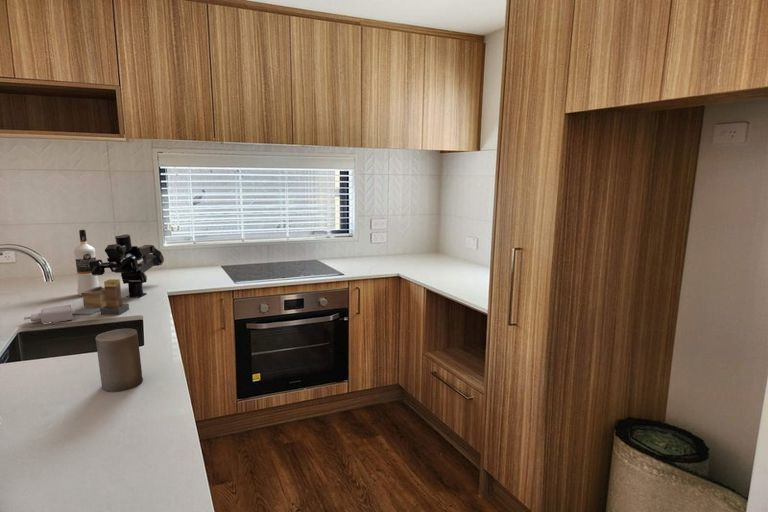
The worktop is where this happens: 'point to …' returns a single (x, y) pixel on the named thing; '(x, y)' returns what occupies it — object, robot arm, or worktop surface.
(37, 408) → the worktop surface
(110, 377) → the pillar candle
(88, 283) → the vodka
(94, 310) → the rubber mat
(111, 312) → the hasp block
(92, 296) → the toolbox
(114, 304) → the brown rectangular block
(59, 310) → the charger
